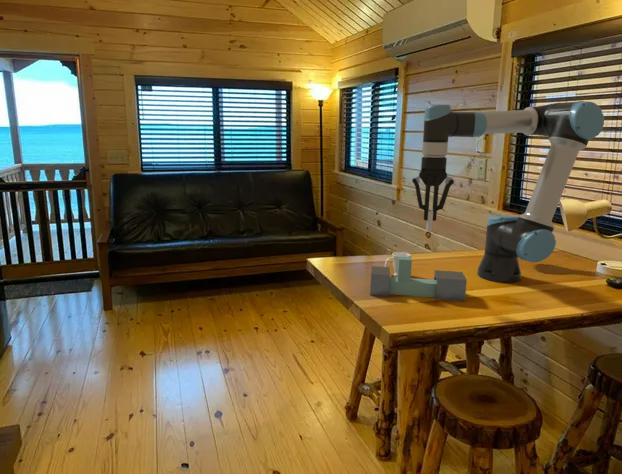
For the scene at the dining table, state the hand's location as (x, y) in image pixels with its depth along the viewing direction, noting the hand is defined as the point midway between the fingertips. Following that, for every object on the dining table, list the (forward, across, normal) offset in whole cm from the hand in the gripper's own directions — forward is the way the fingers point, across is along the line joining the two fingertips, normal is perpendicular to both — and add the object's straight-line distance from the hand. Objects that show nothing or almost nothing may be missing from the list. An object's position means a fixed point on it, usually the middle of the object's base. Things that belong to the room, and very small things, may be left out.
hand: (429, 230), depth 151 cm
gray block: (+22, -8, 0) cm, 23 cm away
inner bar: (+22, +4, 0) cm, 22 cm away
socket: (+22, +15, 0) cm, 26 cm away
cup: (+22, +9, -19) cm, 30 cm away
